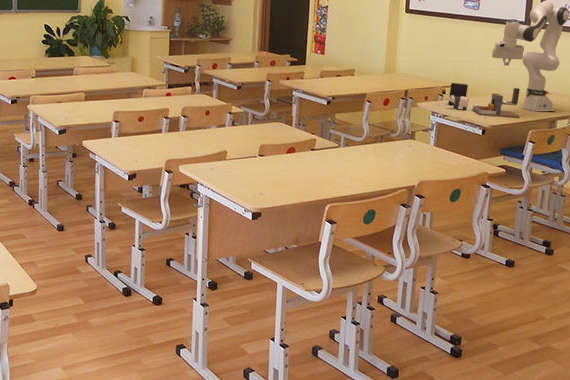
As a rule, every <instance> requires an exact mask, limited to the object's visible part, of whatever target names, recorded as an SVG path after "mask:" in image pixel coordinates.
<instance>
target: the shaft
mask: <svg viewBox="0 0 570 380" xmlns="http://www.w3.org/2000/svg"><path fill="white" fill-rule="evenodd" d="M519 96H520V88H519V87H514V88H513V92H512V96H511V101H509V100H502V105H507V106H517V105H518V102H519Z"/></svg>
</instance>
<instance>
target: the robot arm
mask: <svg viewBox="0 0 570 380" xmlns="http://www.w3.org/2000/svg"><path fill="white" fill-rule="evenodd" d="M529 18H530V21H531V22H532V23H533V25H525V24H521V23H520V20H518V19H515V18H513V19H511V18H510V19H507V21H506V23H505V25H504V31H503V38H502V40H501V41H497V42H495V43H494V47H493V48H492V52H491V53H492V54H491V57H492V58H493V59H502V61H503V66H506V67H507V66H510V63H511V61H512V60H522V63H523V65H524V67H525V68H526V70H527V73H528V84H527V88H526V91H525V98H524V102H523V104H522V107H521V108H522V109H524V110H528V111H533V112H537V111H553V109H554V108H553V107H554V106H553V101H551V100H550V98H549V97H548V96H547V95H549V94H550V93H549V91H548V90H545V87H546V77H545V76H544V75H542V73H541V71H547V72H553V71H556V70H557V69H558V68H559V66H560V58H559V57H558V56H557V55H556V49H557V45H558V43H559V40H560V37H561V36H562V31H563V26H564V25H565V23H566V22H567V21H568V19H570V12H569V9H568V8H566V7H563V6H561V7H560V6H555V5H554V4H553V2H551V1H550V0H544V1H542V2H540V3H538V4H537V5H535V6H534V7H533V8H532V9H531V10H530V12H529ZM546 24H548V25H547V26H546V29H544V27H545V25H546ZM543 29H544V32H543V35H542V37H541V40H540V42H539V46H540V48H541V49H542V50H543V52H542V53H541V52H535V51H531V52H526V53H525V54H524V52H525V51H524V50H525V46H524V45H522V44H521V45H520V44H517V41H518V40H520V41H526V42H530V43H531V42H533V41H535V40H536V38H537V37H538V36H539V33H540V32H541V31H542V30H543ZM506 60H508V61H506Z"/></svg>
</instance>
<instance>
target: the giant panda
mask: <svg viewBox="0 0 570 380" xmlns="http://www.w3.org/2000/svg"><path fill="white" fill-rule="evenodd" d="M446 100H447V101H448V102H449V101H450V102H453V103H454V106H453V108H454V109H456V111H457V110H459V107H461V110H462V111H467V109H468V105H469V101H470V99H469V98H467V96H466V97H454V95H453V96H450V97H447V98H446ZM454 109H453V110H454Z"/></svg>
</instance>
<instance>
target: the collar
mask: <svg viewBox="0 0 570 380" xmlns="http://www.w3.org/2000/svg"><path fill="white" fill-rule="evenodd" d="M487 107H488V110H487V111H493V110H494V105H493V104H492V103H491V102H490V103H488V105H487Z"/></svg>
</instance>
